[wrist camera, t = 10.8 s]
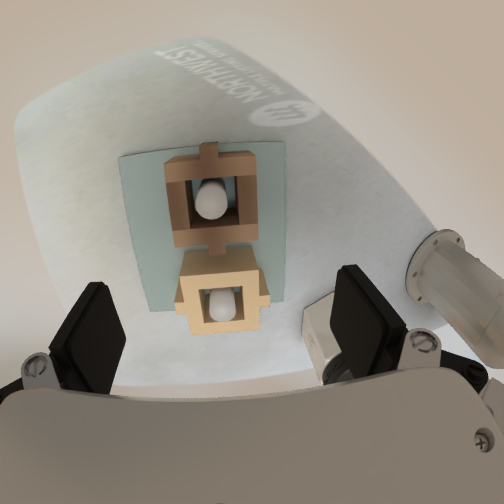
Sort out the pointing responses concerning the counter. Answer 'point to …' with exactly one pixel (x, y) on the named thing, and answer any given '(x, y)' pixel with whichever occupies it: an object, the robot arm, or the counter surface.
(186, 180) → the ribbed wooden holder
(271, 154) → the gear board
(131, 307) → the counter surface
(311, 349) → the jar
